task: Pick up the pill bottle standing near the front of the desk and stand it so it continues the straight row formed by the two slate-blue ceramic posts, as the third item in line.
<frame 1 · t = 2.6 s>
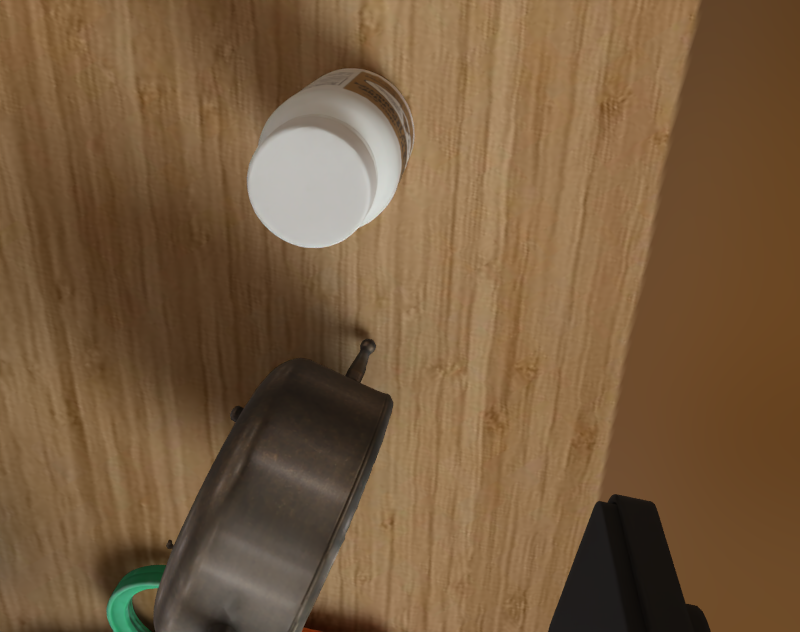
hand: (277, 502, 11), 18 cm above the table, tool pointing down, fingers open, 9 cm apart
alarm clock: (312, 407, 32), on the table
pill bottle: (356, 128, 27), on the table
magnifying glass: (258, 619, 38), on the table
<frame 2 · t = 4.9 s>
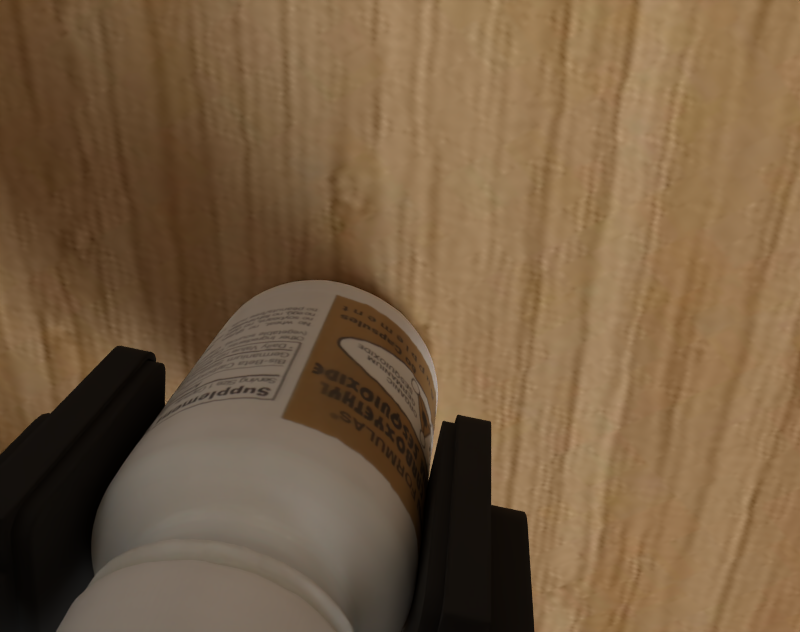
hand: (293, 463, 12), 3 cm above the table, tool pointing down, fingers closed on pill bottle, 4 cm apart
pill bottle: (329, 371, 14), on the table, touching gripper
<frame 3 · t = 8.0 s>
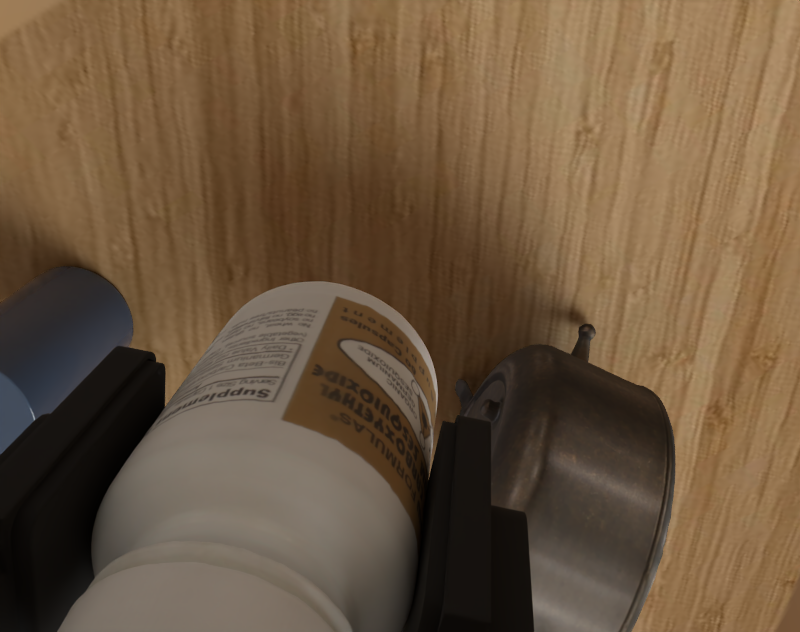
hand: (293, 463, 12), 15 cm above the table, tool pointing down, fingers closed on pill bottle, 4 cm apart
alarm clock: (506, 401, 29), on the table
pill bottle: (329, 372, 14), point 12 cm above the table, touching gripper
post mid: (80, 316, 29), on the table
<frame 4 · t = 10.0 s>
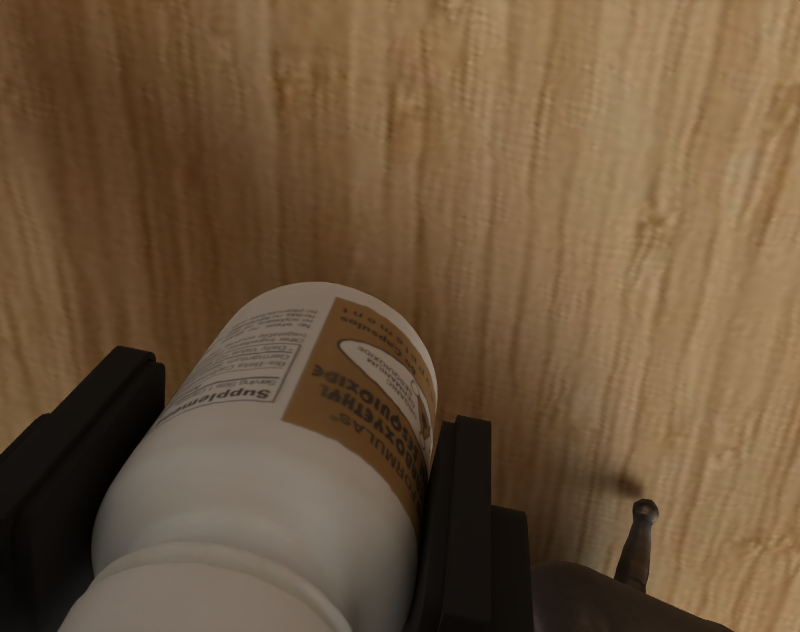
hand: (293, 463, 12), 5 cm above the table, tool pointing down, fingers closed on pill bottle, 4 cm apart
alarm clock: (522, 591, 20), on the table
pill bottle: (329, 372, 14), point 2 cm above the table, touching gripper
when the fingers open (3 cm above the table, at t = 11.1 s): pill bottle stays where it is, on the table.
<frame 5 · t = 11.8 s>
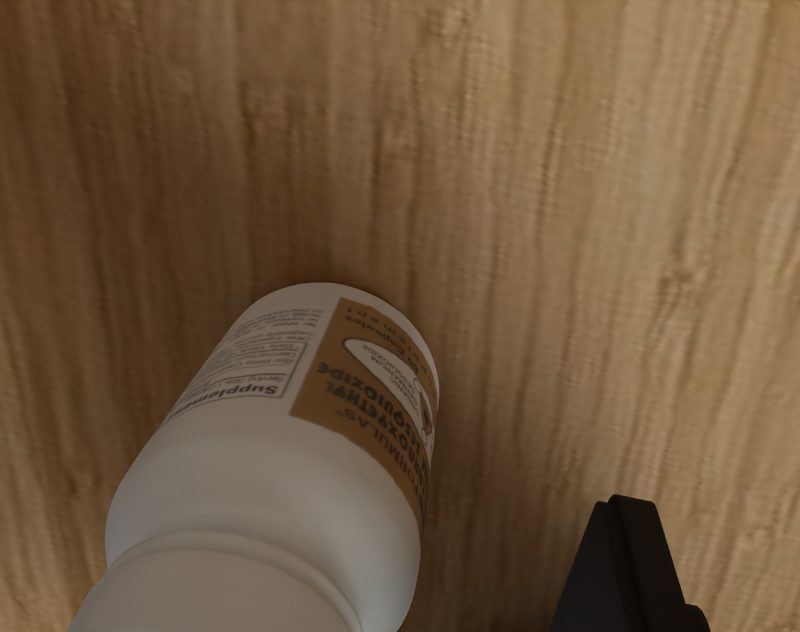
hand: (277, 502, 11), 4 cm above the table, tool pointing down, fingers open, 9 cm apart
pill bottle: (333, 371, 15), on the table
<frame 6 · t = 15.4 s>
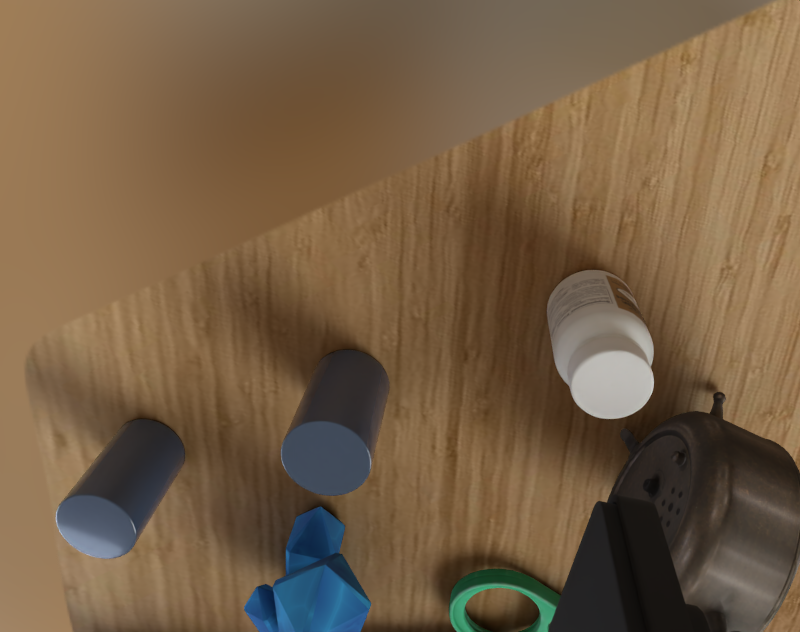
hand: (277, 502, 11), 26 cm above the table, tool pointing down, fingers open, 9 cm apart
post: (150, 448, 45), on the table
alarm clock: (654, 443, 41), on the table
crystal: (322, 542, 46), on the table
pill bottle: (589, 305, 38), on the table
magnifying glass: (567, 613, 47), on the table
post mid: (350, 383, 41), on the table
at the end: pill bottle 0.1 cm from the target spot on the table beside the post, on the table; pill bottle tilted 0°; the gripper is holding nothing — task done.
